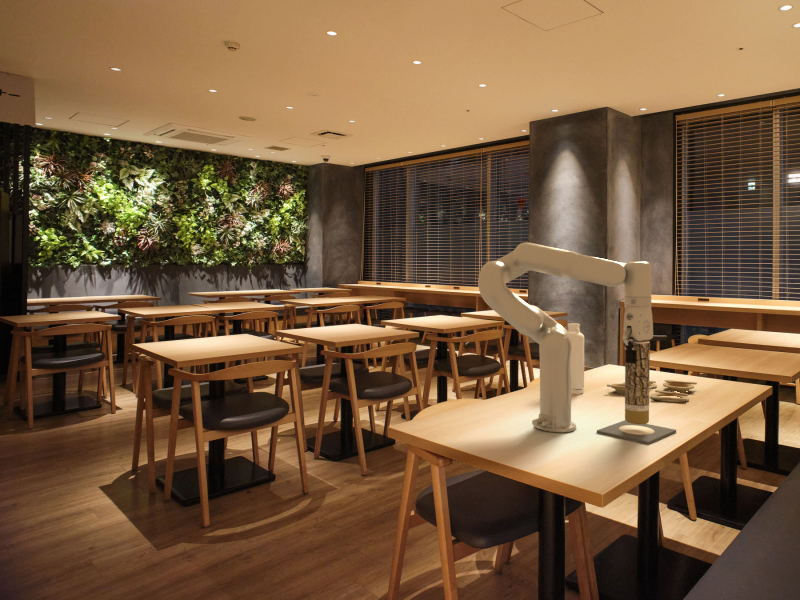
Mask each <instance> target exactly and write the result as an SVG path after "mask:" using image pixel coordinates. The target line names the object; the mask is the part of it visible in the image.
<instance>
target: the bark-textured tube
mask: <svg viewBox="0 0 800 600" xmlns="http://www.w3.org/2000/svg"><path fill="white" fill-rule="evenodd" d="M650 342H651V341H650ZM650 342H649V340H645V341H637V344H636V348H635V350H637V363H635V364H634V363H626V349H625V348H624V351H625V352H624V354H625V357H624V359H625V360H624V361H625V362H624V363H625V364H624V366H625V367H624V382H625V395H624V420H626V421H627V422H628V423H632V424H649V422H650V389H649V381H650V372H651V371H650V368H651V367H650V365H651V364H650V362H651V361H650V360H651V359H650V358H651V357H650V355H651V354H650V353H651V352H650V351H651V343H650ZM631 343H632V345H633V342H631Z"/></svg>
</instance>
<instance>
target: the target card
mask: <svg viewBox="0 0 800 600" xmlns="http://www.w3.org/2000/svg"><path fill="white" fill-rule="evenodd" d="M599 433H600V434H601V435H605V436H608V437H612V436H613V438H617V439H621V438H622V440H627V441H630V440H631V442H634V441H635V442H636V443H640V444H644V445H651V444H653V443H655V442H657V441H658V442H659V440H663V439H664V438H667V437H669V436H671V435H673V434H676V433H677V429H674V428H668V427H666V426H665V427H664V426H660V425H653V424H649V423H647V424H632V423H628V422H627V421H626V420H625V419H623V420H621V421H619V422H616V423H613V424H611V425H608V426H605V427H602V428H599V429H597V430H596V434H599ZM600 434H599V435H600Z"/></svg>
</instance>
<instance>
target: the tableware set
mask: <svg viewBox="0 0 800 600" xmlns="http://www.w3.org/2000/svg"><path fill="white" fill-rule="evenodd" d="M695 385H698V382H695V381H682V380H680V381H679V380H675V379H674V380H672V379H665V380H664V382H663V383H662V386H663V387H664V388H667V389H668V391H667V390H660V389H656V388H658V385H657V384H656V381H655V380H649V390H652V389H655V393H651V394H649V398H651V399H652V400H657V401H661V402H666V401H667V402H668V403H686V402H689V401H690V398H689V394H688V393H676V392H671V391H677V392H686V391H688V392H689V391H690V390H692V389H694V388H695ZM606 387H608V388H612V389H613V390H615V392H616V393H617V394H618V395H624V396H625V381H624V382H623V383H612V384H607V383H606ZM669 390H670V391H669ZM660 396H677V397H680V398H671V397H660ZM688 400H689V401H688ZM685 401H686V402H685ZM667 402H666V403H667Z"/></svg>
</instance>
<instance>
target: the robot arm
mask: <svg viewBox="0 0 800 600" xmlns="http://www.w3.org/2000/svg"><path fill="white" fill-rule="evenodd" d="M652 269H653V267H652V263H650V262H648V261H629V262H618V261H614V260H609V259H605V258H600V257H597V256H596V257H595V256H591V255H590V256H589V255H584V254H581V253H579V252H574V251H572V250H567V249H562V248H556V247H552V246H547V245H543V244H537V243H533V242H528V241H527V242H522V243H519V244H518V245H517V246H516V248H515V249H514V250H512V251H511V252H509V253H507V254H506V255H504V256H502V257H500V258H498V259H496V260H490V261H488V262H486V263H485V264H483V266H482V267H481V269H480V271H479V275H478V279H477V280H478V281H477V282H478V284H477V285H478V291H479V293H480V296H481V298H482V299H483V301H484V302H485V303H486V304H487V306H489V308H490V309H492V310H493V311H494V312H495V313H496V314H498V315H499V316H500V317H501V318H502V319H503V320H505V322H507V323H508V324H509V325H510V326H511V327H513V328H514V329H515V330H516V331H517V332H519V333H520V334H521V335H523V336H526V337H527V336H528V337H529V338H531V339H532V340H533V341H534V342H536V344H538V345H539V346H538V348H539V349H538V350H539V352H538V353H539V413H538V418H536V419H533V420H532V421H531V424H532V426H534V427H535V428H536V429H538V430H540V429H541V431H543V430H544V432H549V433H570V432H572V431H573V432H574V431H576V429H577V424H576V423H575V422H573V421H572V394H571V352H572V343H571V337H570V334H569V332H568V329H566V328H565V327H564V326H563V325H562V324H560V323H559V322H558V321H556V320H555V319H554V318H553V317H551V316H550V315H549V314H547V312H545V311H544V310H542V309H541V308H540V307H538V306H535V305H533V304H529V303H527V302H526V301H525V300H523V298H521V297H519V295H518V294H517V293H515V292H513V291H512V290H511V289H510V288H509V287H508V286H507V283H510V282H511V281H513V280H516V279H517V278H518V277H520V276H522V275H524V274H526V273H527V272H529V271H532V272H538V273H539V274H540V273H542V274H546V275H550V276H553V277H554V276H555V277H560V278H563V279H570V280H580V281H582V282H588V283H592V284H598V285H601V286H602V285H603V286H605V287H610V288H611V287H618V286H623V285H624V294H623V295H624V298H623V299H624V300H623V302H624V303H623V304H624V306H623V307H624V316H623V331H622V333H623V335H622V341H623V345H624V350H625V349H626V363H634V364H635V363H637V350H635V348H636V344H637V341H645V340H649V342H651V340H652V339H653V338H654V321H653V320H654V319H653V311H652V279H653V278H652V273H653V272H652ZM631 342H633V345H632V343H631Z"/></svg>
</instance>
